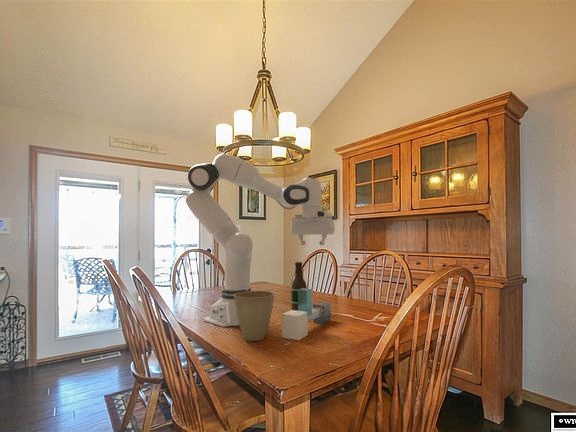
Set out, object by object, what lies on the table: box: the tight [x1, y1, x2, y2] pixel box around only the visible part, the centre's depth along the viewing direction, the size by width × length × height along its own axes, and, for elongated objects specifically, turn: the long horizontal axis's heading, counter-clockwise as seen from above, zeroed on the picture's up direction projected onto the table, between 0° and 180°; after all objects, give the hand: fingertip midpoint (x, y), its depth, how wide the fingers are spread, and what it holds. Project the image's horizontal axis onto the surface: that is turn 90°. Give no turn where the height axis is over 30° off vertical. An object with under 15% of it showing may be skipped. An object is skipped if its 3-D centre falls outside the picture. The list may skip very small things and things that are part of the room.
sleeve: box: [312, 301, 332, 325], centre depth 138 cm, size 5×7×8 cm
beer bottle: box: [290, 261, 308, 311], centre depth 158 cm, size 8×8×24 cm
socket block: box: [281, 309, 309, 341], centre depth 118 cm, size 7×7×8 cm
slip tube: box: [298, 288, 323, 323], centre depth 126 cm, size 4×22×12 cm, turn 148°
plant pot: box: [234, 290, 275, 342], centre depth 117 cm, size 15×15×16 cm
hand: (312, 244), depth 142 cm, fingers open, 8 cm apart
